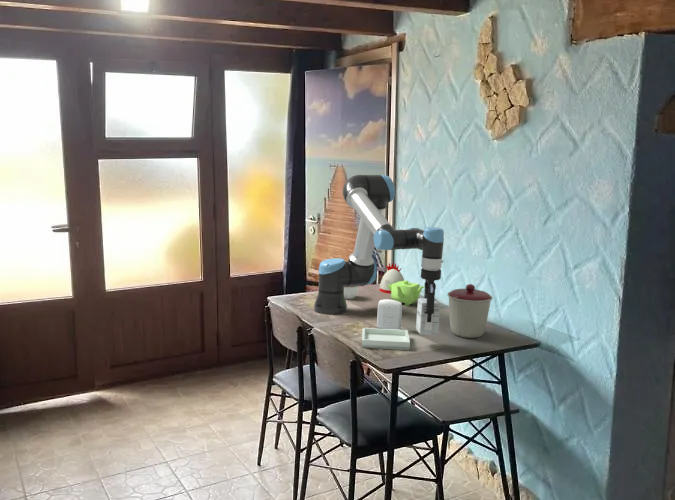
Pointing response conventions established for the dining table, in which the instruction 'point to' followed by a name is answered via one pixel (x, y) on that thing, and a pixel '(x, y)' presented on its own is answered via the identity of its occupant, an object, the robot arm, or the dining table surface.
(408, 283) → the kettle
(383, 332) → the tray
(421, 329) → the supplement box
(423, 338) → the dining table surface
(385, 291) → the kitchen timer
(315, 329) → the dining table surface
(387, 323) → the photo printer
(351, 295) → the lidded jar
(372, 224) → the robot arm
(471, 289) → the canister
